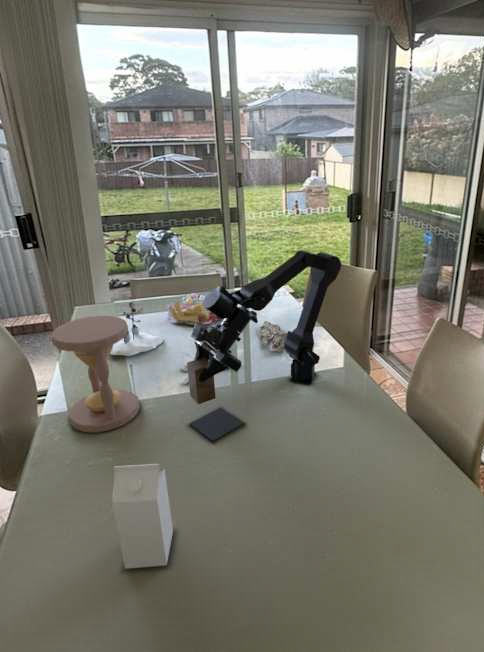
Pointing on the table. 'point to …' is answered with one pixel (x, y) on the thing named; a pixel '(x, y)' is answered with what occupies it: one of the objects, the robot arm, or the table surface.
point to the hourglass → (97, 372)
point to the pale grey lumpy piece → (278, 338)
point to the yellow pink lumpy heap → (191, 311)
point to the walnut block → (197, 388)
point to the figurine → (135, 339)
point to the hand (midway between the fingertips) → (195, 376)
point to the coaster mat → (216, 424)
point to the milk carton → (142, 515)
